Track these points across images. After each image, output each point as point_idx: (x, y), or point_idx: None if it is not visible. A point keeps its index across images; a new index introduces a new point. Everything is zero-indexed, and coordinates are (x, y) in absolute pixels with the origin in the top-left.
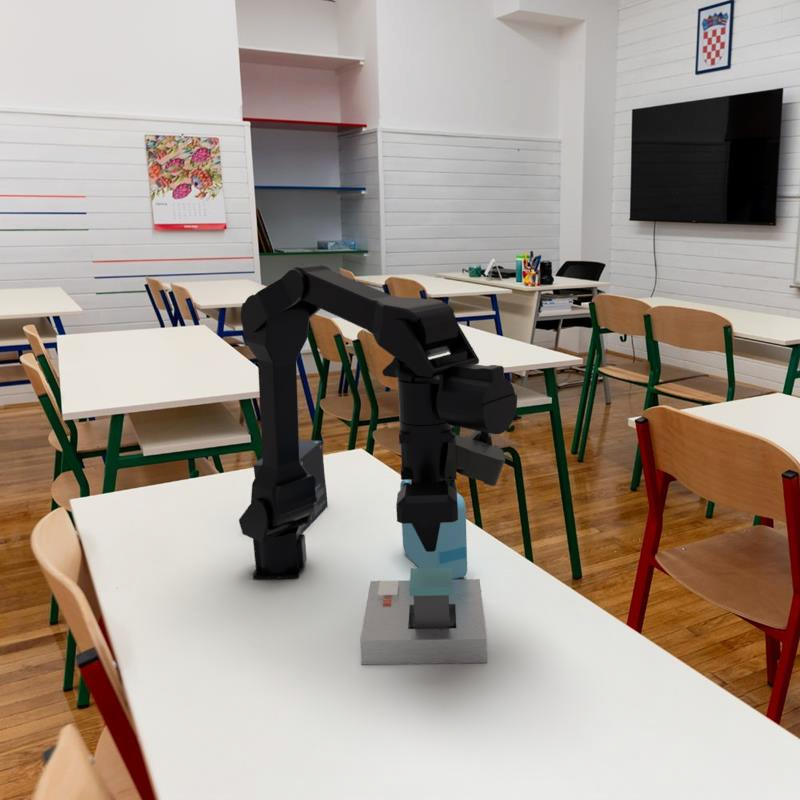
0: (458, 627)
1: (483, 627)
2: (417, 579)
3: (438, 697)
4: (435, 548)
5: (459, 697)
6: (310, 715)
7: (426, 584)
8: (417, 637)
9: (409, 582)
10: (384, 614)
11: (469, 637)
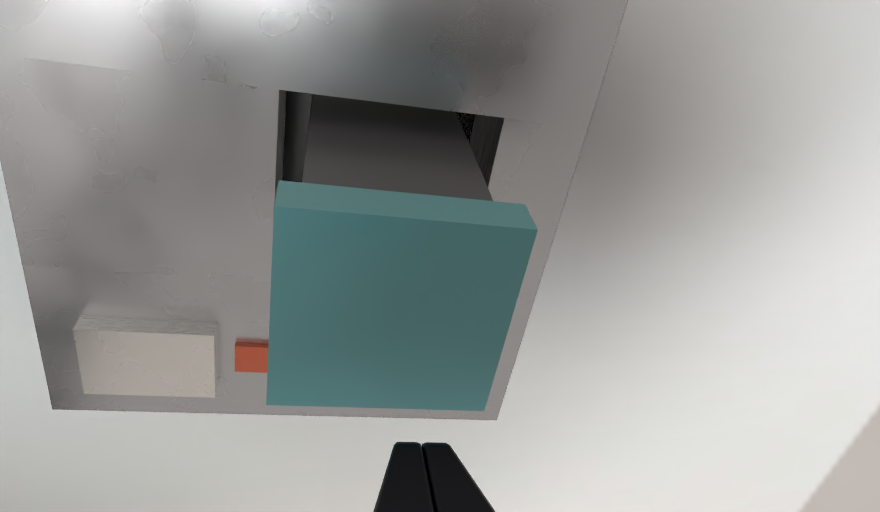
0: (500, 108)
1: None
2: (405, 380)
3: (707, 176)
4: (459, 459)
5: (735, 114)
6: (648, 442)
7: (469, 344)
8: (527, 267)
9: (47, 273)
10: None
11: (592, 74)
